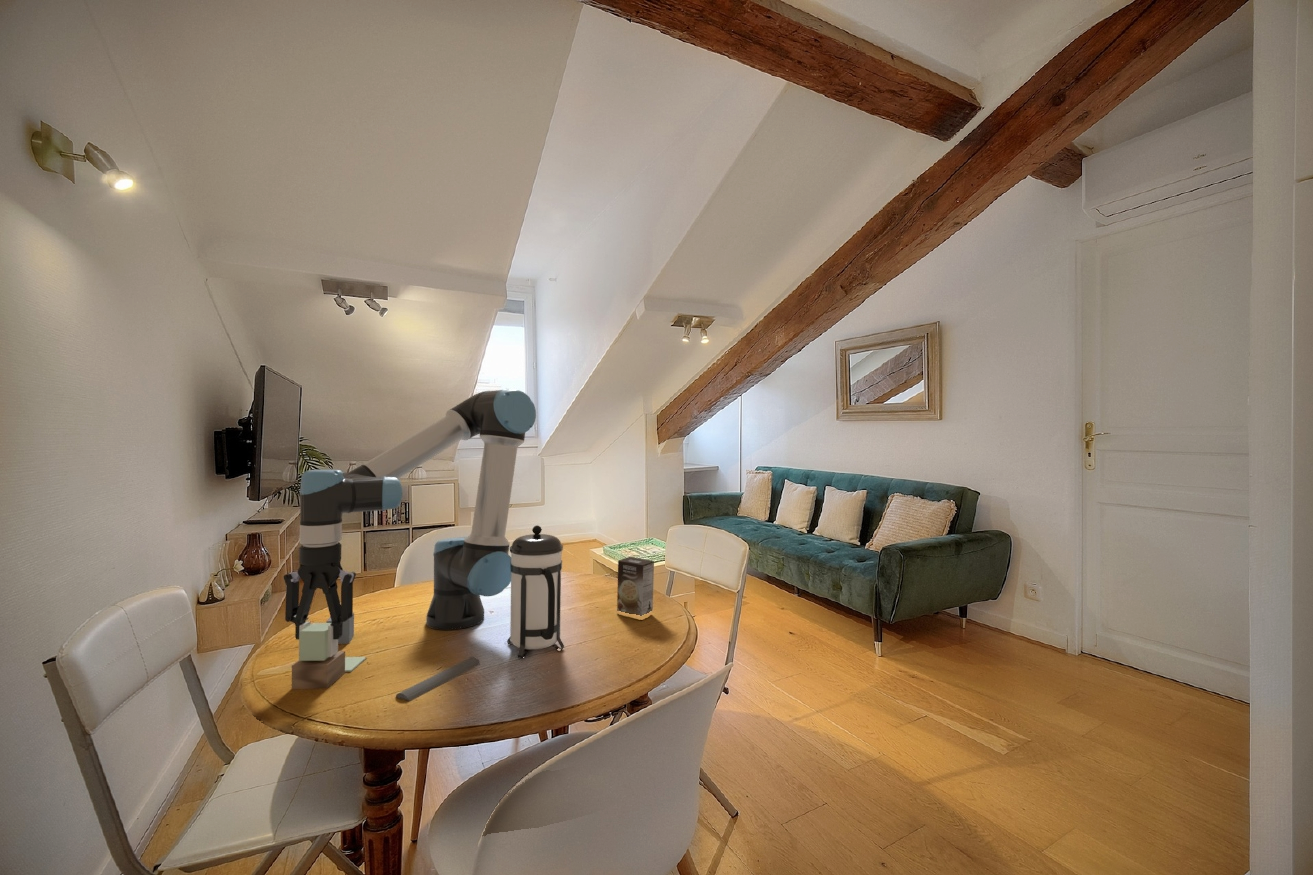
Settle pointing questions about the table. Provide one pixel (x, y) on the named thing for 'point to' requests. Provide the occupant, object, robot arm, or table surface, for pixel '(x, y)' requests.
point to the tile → (353, 663)
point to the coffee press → (535, 592)
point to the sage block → (314, 642)
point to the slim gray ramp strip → (438, 679)
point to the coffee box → (635, 586)
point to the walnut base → (318, 672)
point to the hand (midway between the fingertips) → (318, 654)
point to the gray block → (346, 630)
